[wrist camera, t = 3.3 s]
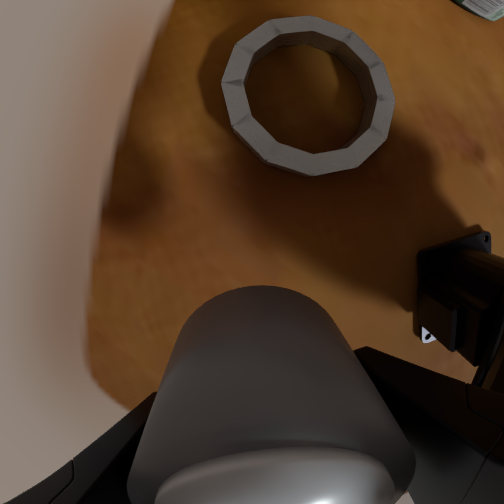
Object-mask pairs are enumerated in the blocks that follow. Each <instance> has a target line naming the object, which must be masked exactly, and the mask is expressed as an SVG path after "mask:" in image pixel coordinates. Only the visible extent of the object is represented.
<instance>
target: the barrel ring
mask: <svg viewBox="0 0 504 504" xmlns="http://www.w3.org/2000/svg"><path fill="white" fill-rule="evenodd" d="M303 44H307V45H310V46H313V47H315V48H318V49H321V50H324V51H327V52H329V53H332V54H335V55H336V56H337V57H338V58H339V59H340V60H341V61H342V62H343V63H344V64H345V65H346V66H347V67H348V68H349V69H350V70H351V71H352V72H353V73H354V74H355V75H356V77H357V79H358V83H359V86H360V89H361V93H362V96H363V99H364V103H365V107H364V111H363V115H362V119H361V123H360V127H359V130H358V133H357V134H355V135H354V136H353V137H352V138H351V139H350V140H349V141H348V142H347V143H346V144H344V145H343V146H342V147H341V148H340V149H339V150H334V151H329V152H323V153H318V154H311V153H308V152H305V151H302V150H299V149H296V148H293V147H290V146H287V145H284V144H281V143H278V142H277V141H276V140H275V139H274V138H273V137H272V136H271V135H270V134H269V133H268V132H267V131H266V130H265V129H264V128H263V127H262V126H261V125H260V124H259V123H258V122H257V121H256V120H255V119H254V118H253V117H252V115H251V111H250V108H249V104H248V100H247V96H246V92H245V86H246V83H247V80H248V77H249V74H250V71H251V68H252V66H253V65H254V64H255V63H257V62H258V61H259V60H260V59H262V58H263V57H264V56H266V55H267V54H268V53H270V52H271V51H272V50H274V49H275V48H279V47H287V46H295V45H303ZM221 86H222V90H223V95H224V99H225V103H226V107H227V111H228V115H229V119H230V123H231V127H232V131H233V133H234V134H235V135H236V136H237V137H238V138H239V139H240V140H241V141H242V142H243V143H244V144H245V145H246V146H247V147H248V148H249V149H250V150H251V151H252V152H253V153H254V154H255V155H256V156H257V157H258V158H259V159H260V160H261V162H262V163H264V162H265V163H264V164H266V165H270V166H273V167H276V168H279V169H283V170H286V171H289V172H292V173H295V174H298V175H301V176H304V177H308V176H316V175H321V174H326V173H331V172H336V171H341V170H347V169H352V168H356V167H358V166H359V165H360V164H361V163H362V162H363V161H365V160H366V159H367V158H368V157H369V156H370V155H371V154H372V153H373V152H374V151H375V150H376V149H377V148H378V147H379V146H380V145H381V144H382V143H383V142H385V141H386V139H387V136H388V132H389V128H390V123H391V119H392V115H393V110H394V106H395V97H394V94H393V91H392V87H391V84H390V81H389V78H388V75H387V72H386V69H385V66H384V63H383V62H382V60H381V59H380V58H379V57H378V56H377V55H376V53H375V52H374V51H373V50H372V49H371V48H370V47H369V46H368V45H367V44H366V43H365V42H364V41H363V40H362V39H361V38H360V37H359V36H358V35H357V34H356V33H355V32H354V31H353V32H352V30H350V29H347V28H345V27H342V26H340V25H337V24H334V23H332V22H329V21H326V20H324V19H321V18H318V17H315V16H312V17H311V16H298V17H288V18H279V19H271V20H270V21H269V20H268V21H266V22H265V23H263V24H262V25H261V26H259V27H258V28H256V29H255V30H253V31H252V32H251V33H249V34H248V35H246V36H245V37H244V38H242V39H241V40H240V41H238V42H237V43H236V45H235V46H234V48H233V51H232V54H231V56H230V59H229V62H228V64H227V67H226V70H225V72H224V75H223V78H222V81H221Z"/></svg>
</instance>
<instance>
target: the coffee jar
mask: <svg viewBox="0 0 504 504" xmlns="http://www.w3.org/2000/svg"><path fill="white" fill-rule="evenodd" d="M454 1H455V2H456V3H457V4H459V5H460V6H462V7H463V8H465V9H466V10H468V11H470V12H471V13H473V14H475V15H477V16H479V17H482V18H484V19H487V20H490V21H496V20H498V19H500V18H502V17H503V16H504V0H454Z"/></svg>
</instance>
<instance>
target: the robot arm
mask: <svg viewBox="0 0 504 504" xmlns="http://www.w3.org/2000/svg"><path fill="white" fill-rule="evenodd" d="M484 238H485V240H484ZM425 255H426V256H427V257H426V260H425V261H424V260H423V259H424V256H425ZM417 268H418V288H417V305H418V323H419V338H420V340H421V341H422V342H423V343H428V342H431V341H433V340H436V339H437V340H438V341H439V342H440V343H441V344H442V345H444V346H445V347H446V348H447V349H448V350H449V351H451V352H454V351H457V352H458V353H460V354H461V355H462V356H463V357H464V358H465V359H466V360H467V361H468V362H470V363H471V364H472V365H473V366H474V367H476V366H478V365H479V366H478V369H477V371H476V374H475V376H474V378H473V381H472V383H471V384H469V383H467V384H466V383H465V382H462V381H460V380H457V379H454V378H451V377H448V376H445V375H443V374H440V373H437V372H434V371H431V370H429V369H426V368H423V367H420V366H418V365H415V364H412V363H410V362H407V361H404V360H402V359H399V358H396V357H394V356H391V355H389V354H386V353H383V352H381V351H378V350H376V349H373V348H371V347H368V346H365V347H362V348H359V349H356V350H354V351H353V352H354V353H355V355H356V357H357V358H358V360H359V361H360V363H361V365H362V366H363V368H364V369H365V371H366V373H367V374H368V376H369V377H370V379H371V381H372V382H373V384H374V385H375V387H376V389H377V390H378V392H379V394H380V395H381V397H382V399H383V400H384V402H385V403H386V405H387V407H388V408H389V410H390V412H391V413H392V415H393V417H394V418H395V420H396V422H397V423H398V425H399V427H400V428H401V430H402V432H403V433H404V435H405V437H406V439H407V440H408V442H409V444H410V445H411V447H412V449H413V451H414V454H415V458H416V468H415V473H414V476H413V479H412V481H411V483H410V485H409V486H408V488H407V490H408V492H409V494H410V496H411V498H412V500H413V502H414V504H504V258H502V257H499V256H497V255H494V254H491V235H490V233H489V232H487V231H480V232H477V233H474V234H471V235H468V236H465V237H462V238H458V239H455V240H452V241H449V242H446V243H442V244H439V245H436V246H433V247H429V248H426V249H423V250H421V251H420V252H419V253H418V255H417ZM427 334H428V335H427ZM426 335H427V336H426ZM425 336H426V337H425ZM156 394H157V392H153V393H152V394H151V395H150V396H148V397H147V398H146V399H145V400H144V401H142V402H141V403H140V404H139V405H138V406H137V407H135V408H134V409H133V410H132V411H131V412H129V413H128V414H127V415H126V416H125V417H123V418H122V419H121V420H120V421H119V422H117V423H116V424H115V425H114V426H113V427H111V428H110V429H109V430H108V431H107V432H105V433H104V434H103V435H102V436H100V437H99V438H98V439H97V440H95V441H94V442H93V443H92V444H90V445H89V446H88V447H87V448H85V449H84V450H83V451H82V452H80V453H79V454H78V455H77V456H75V457H74V458H73V460H70V461H69V462H68V463H67V464H65V465H64V466H63V467H61V468H60V469H59V470H57V471H56V472H54V473H53V474H52V475H50V476H49V477H47V478H46V479H44V480H43V481H41V482H40V483H38V484H37V485H35V486H33V487H32V488H30V489H28V490H27V491H25V492H23V493H22V494H20V495H18V496H17V497H15V498H13V499H12V500H10V501H8V502H6V503H4V504H132V503H131V501H130V499H129V496H128V493H127V480H128V476H129V473H130V470H131V467H132V464H133V461H134V458H135V455H136V452H137V449H138V446H139V443H140V440H141V437H142V434H143V431H144V428H145V425H146V422H147V420H148V417H149V414H150V411H151V408H152V405H153V403H154V400H155V397H156Z"/></svg>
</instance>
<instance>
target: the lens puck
mask: <svg viewBox="0 0 504 504" xmlns="http://www.w3.org/2000/svg"><path fill="white" fill-rule="evenodd" d="M415 468H416V458H415V454H414V451H413V449H412V447H411V445H410V444H409V442H408V440H407V439H406V437H405V435H404V433H403V432H402V430H401V428H400V427H399V425H398V423H397V422H396V420H395V418H394V417H393V415H392V413H391V412H390V410H389V408H388V407H387V405H386V403H385V402H384V400H383V399H382V397H381V395H380V394H379V392H378V390H377V389H376V387H375V385H374V384H373V382H372V381H371V379H370V377H369V376H368V374H367V373H366V371H365V369H364V368H363V366H362V365H361V363H360V361H359V360H358V358H357V357H356V355H355V353H354V352H353V350H352V349H351V347H350V345H349V344H348V342H347V341H346V339H345V338H344V336H343V334H342V333H341V331H340V330H339V328H338V327H337V325H336V324H335V322H334V320H333V319H332V318H331V316H330V315H329V314H328V313H327V311H326V310H325V309H324V308H322V307H321V306H320V305H319V304H318V303H317V302H315V301H314V300H312V299H311V298H309V297H307V296H305V295H303V294H301V293H299V292H296V291H293V290H290V289H287V288H282V287H277V286H265V285H261V286H248V287H242V288H237V289H234V290H230V291H227V292H224V293H222V294H220V295H218V296H215V297H214V298H212V299H210V300H209V301H207V302H205V303H204V304H203V305H202V306H200V307H199V308H198V309H197V310H196V311H195V312H194V313H193V314H192V315H191V316H190V317H189V318H188V320H187V321H186V323H185V324H184V325H183V327H182V329H181V331H180V333H179V335H178V338H177V341H176V343H175V346H174V349H173V351H172V354H171V356H170V359H169V362H168V364H167V367H166V370H165V373H164V375H163V378H162V381H161V383H160V386H159V389H158V392H157V394H156V397H155V400H154V403H153V405H152V408H151V411H150V414H149V417H148V420H147V422H146V425H145V428H144V431H143V434H142V437H141V440H140V443H139V446H138V449H137V452H136V455H135V458H134V461H133V464H132V467H131V470H130V473H129V476H128V480H127V493H128V496H129V499H130V501H131V503H132V504H395V503H396V502H397V501H398V500H399V498H400V497H401V496H402V495H403V494H404V492H405V491H406V490H407V488H408V486H409V485H410V483H411V481H412V479H413V476H414V473H415Z"/></svg>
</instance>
